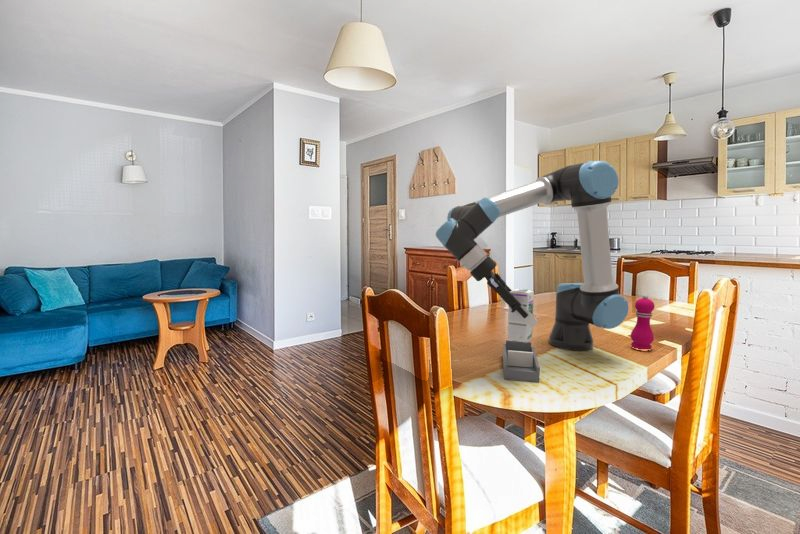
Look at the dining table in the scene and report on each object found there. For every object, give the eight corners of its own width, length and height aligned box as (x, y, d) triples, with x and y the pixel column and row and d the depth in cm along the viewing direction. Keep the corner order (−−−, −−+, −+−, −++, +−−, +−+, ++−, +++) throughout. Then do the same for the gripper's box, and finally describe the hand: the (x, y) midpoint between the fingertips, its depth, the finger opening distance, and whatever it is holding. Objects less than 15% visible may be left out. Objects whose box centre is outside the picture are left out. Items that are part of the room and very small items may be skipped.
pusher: (506, 359, 131) (507, 345, 131) (530, 361, 130) (531, 347, 129) (507, 365, 126) (507, 351, 125) (532, 367, 124) (533, 353, 123)
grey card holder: (502, 356, 137) (503, 339, 136) (532, 359, 134) (533, 342, 134) (504, 379, 117) (504, 359, 117) (539, 382, 115) (540, 362, 114)
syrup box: (527, 343, 116) (529, 292, 114) (506, 339, 119) (508, 290, 117) (532, 338, 120) (534, 289, 119) (512, 335, 123) (514, 287, 122)
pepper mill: (651, 347, 149) (656, 293, 147) (654, 353, 142) (659, 296, 140) (628, 344, 152) (632, 291, 150) (630, 350, 145) (634, 295, 143)
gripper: (470, 268, 130) (521, 322, 129) (466, 276, 111) (525, 339, 109) (488, 252, 129) (539, 306, 127) (487, 257, 109) (547, 321, 108)
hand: (533, 321), depth 118 cm, fingers closed on syrup box, 7 cm apart
